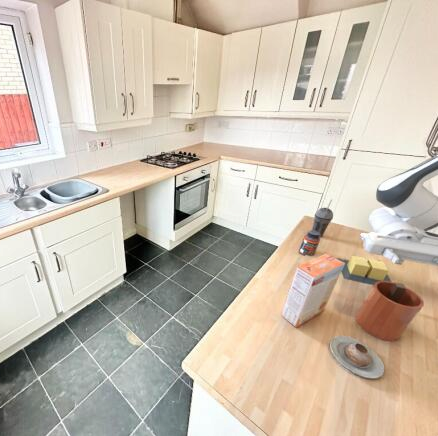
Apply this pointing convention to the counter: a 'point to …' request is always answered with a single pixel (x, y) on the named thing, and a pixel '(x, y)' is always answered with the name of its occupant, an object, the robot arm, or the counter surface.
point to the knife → (396, 292)
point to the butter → (367, 268)
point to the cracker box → (311, 289)
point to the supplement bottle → (310, 243)
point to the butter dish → (357, 278)
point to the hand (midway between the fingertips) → (422, 266)
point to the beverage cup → (322, 219)
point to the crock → (388, 312)
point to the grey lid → (357, 357)
